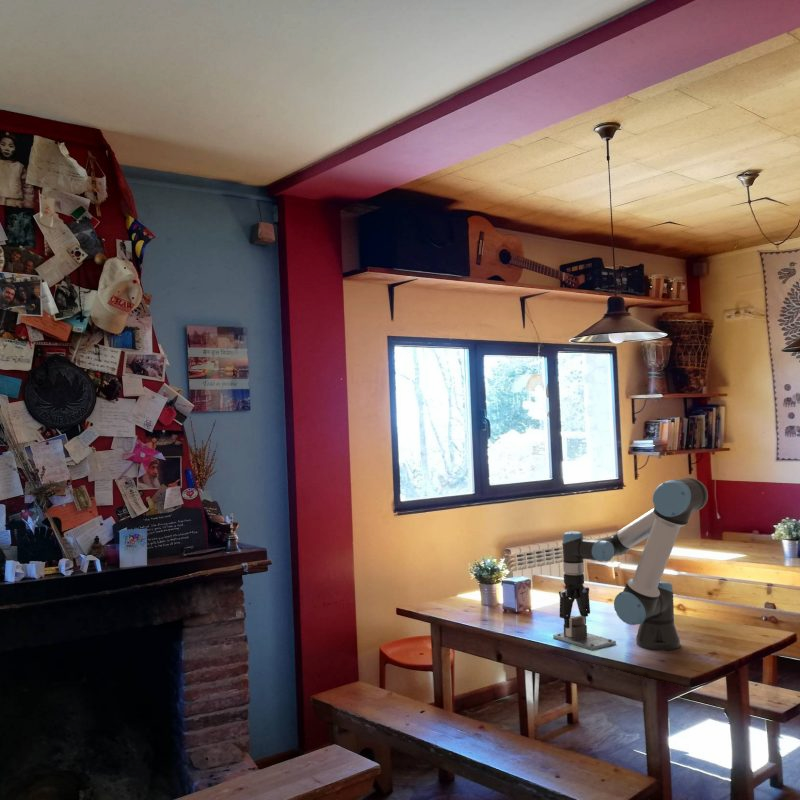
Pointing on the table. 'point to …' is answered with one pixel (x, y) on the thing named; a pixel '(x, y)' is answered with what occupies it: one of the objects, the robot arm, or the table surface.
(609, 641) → the plate
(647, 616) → the robot arm
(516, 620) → the table surface
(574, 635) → the brown block
